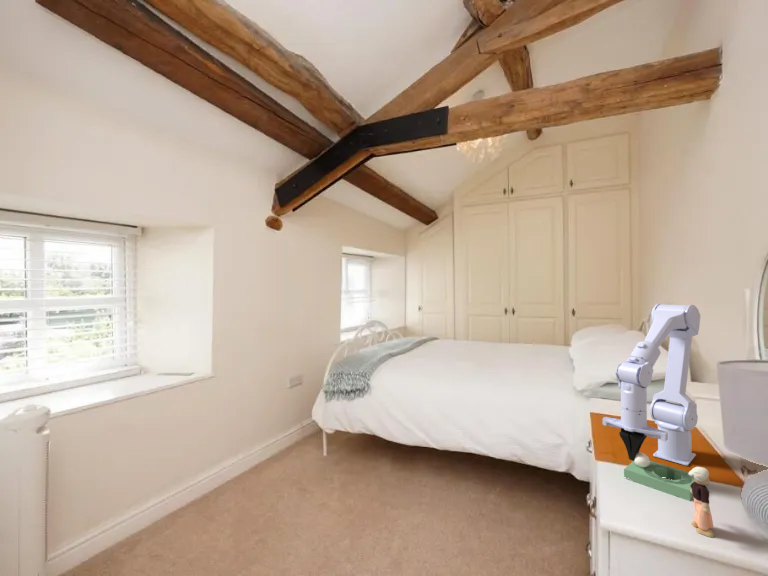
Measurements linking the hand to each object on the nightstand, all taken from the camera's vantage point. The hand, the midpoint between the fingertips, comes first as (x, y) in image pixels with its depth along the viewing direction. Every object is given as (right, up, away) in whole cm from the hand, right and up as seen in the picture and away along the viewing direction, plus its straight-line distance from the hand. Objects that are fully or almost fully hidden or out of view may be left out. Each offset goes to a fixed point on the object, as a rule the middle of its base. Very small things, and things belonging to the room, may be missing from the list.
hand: (633, 459), depth 99 cm
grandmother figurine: (-1, -4, -22) cm, 22 cm away
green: (+4, -4, -4) cm, 6 cm away
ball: (+1, 0, -1) cm, 2 cm away
